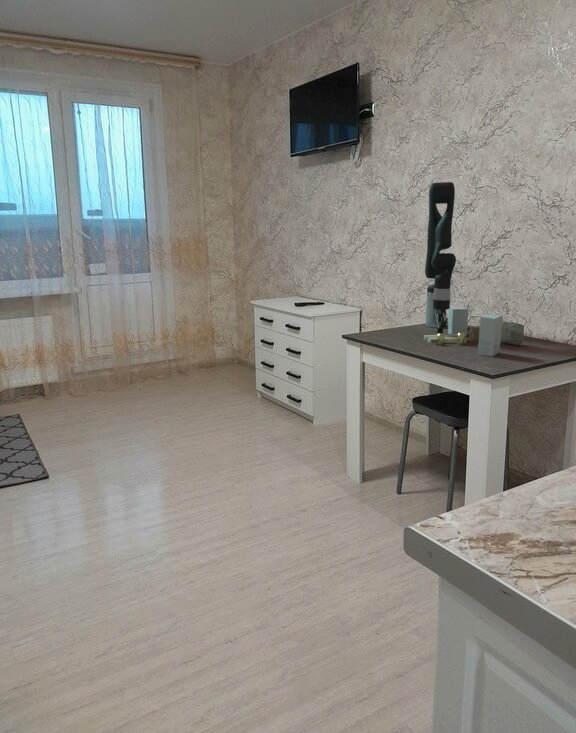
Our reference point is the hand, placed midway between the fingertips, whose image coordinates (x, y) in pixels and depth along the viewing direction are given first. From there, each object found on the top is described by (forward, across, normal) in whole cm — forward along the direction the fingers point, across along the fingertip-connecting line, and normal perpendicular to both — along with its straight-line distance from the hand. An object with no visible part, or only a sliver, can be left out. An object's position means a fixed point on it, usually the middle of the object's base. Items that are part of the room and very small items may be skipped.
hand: (439, 336), depth 273 cm
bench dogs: (+1, +15, 0) cm, 15 cm away
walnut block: (+1, +6, +15) cm, 16 cm away
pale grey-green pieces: (+2, +6, 0) cm, 7 cm away
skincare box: (+1, +34, +9) cm, 35 cm away
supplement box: (+1, -8, +11) cm, 14 cm away
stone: (+1, +17, +25) cm, 30 cm away
